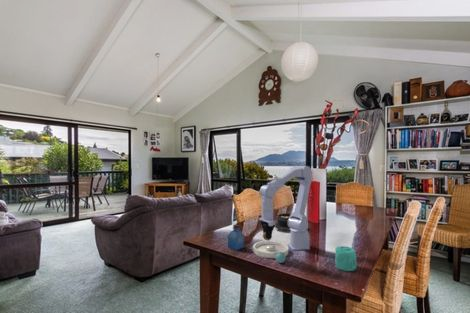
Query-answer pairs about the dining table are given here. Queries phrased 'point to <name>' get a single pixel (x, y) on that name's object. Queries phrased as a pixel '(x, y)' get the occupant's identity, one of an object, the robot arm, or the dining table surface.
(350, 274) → the dining table surface
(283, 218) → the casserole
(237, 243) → the perfume bottle
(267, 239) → the walnut bead
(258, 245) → the tray
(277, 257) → the teal bead
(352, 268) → the decorative dice
